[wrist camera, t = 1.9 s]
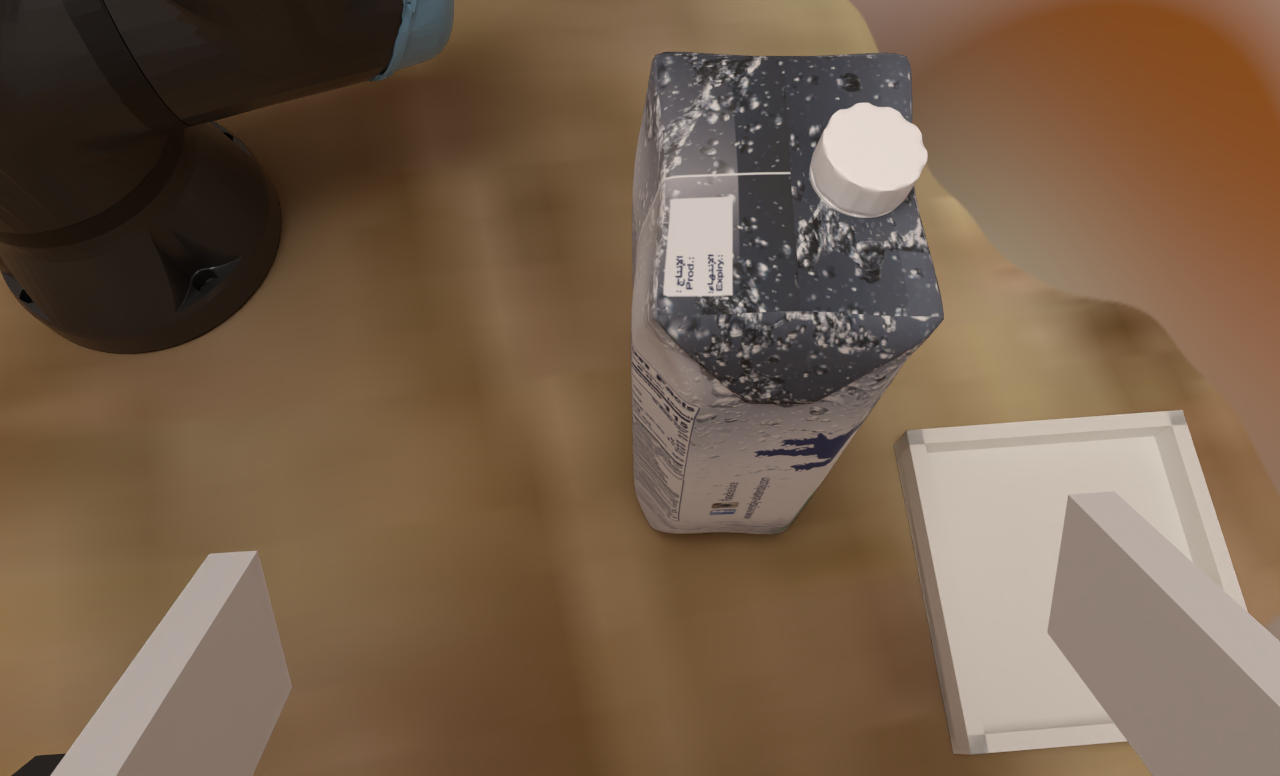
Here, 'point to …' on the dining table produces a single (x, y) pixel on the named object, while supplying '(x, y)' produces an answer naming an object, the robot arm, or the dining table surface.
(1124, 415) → the carton tray
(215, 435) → the dining table surface
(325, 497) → the dining table surface
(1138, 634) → the robot arm
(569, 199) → the dining table surface
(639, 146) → the juice carton
